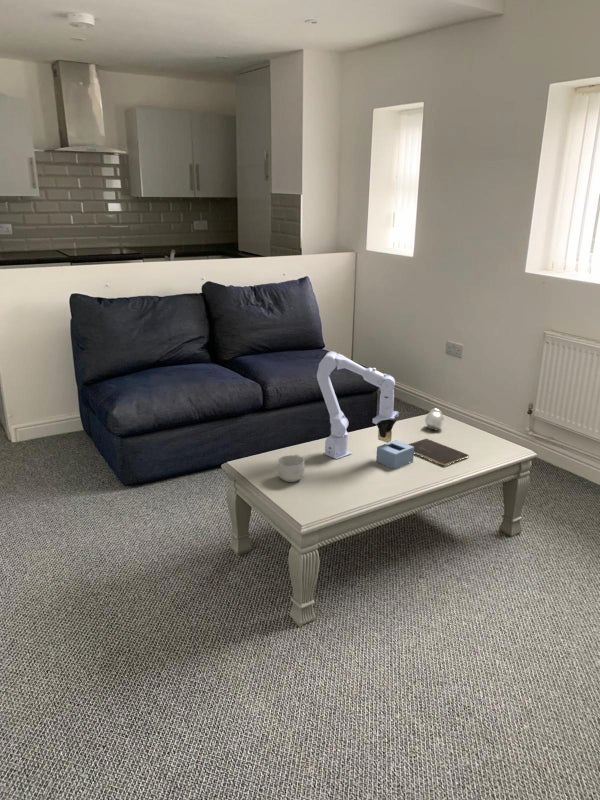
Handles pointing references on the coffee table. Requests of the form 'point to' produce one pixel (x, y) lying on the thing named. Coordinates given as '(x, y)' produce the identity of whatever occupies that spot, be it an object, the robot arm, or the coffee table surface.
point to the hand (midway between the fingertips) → (384, 435)
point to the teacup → (291, 467)
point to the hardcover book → (437, 452)
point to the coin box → (395, 454)
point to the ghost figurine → (434, 419)
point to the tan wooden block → (387, 436)
